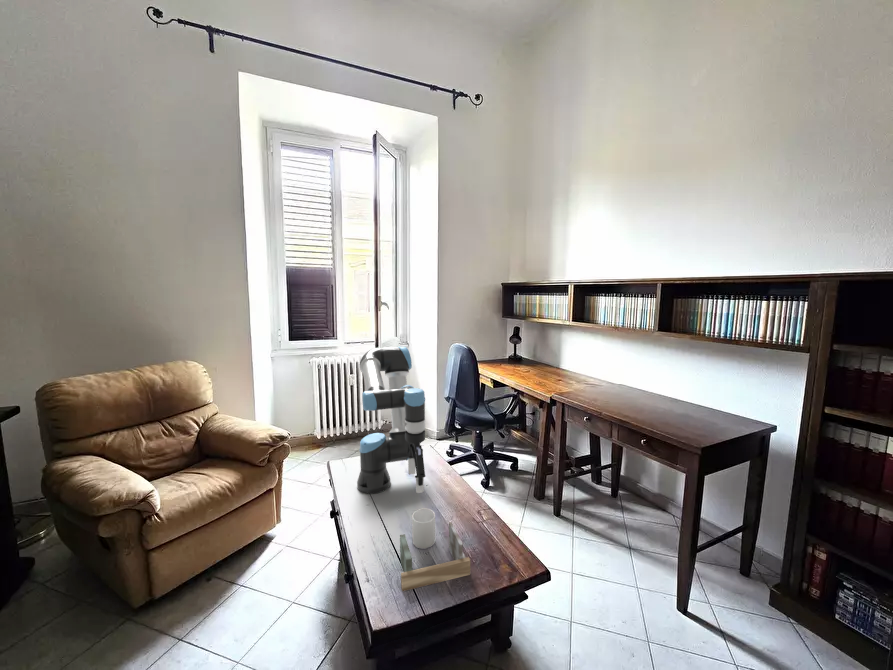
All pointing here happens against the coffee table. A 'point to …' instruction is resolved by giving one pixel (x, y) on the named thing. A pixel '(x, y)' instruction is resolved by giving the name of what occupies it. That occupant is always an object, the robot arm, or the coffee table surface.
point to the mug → (423, 528)
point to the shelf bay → (435, 572)
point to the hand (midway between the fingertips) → (415, 482)
